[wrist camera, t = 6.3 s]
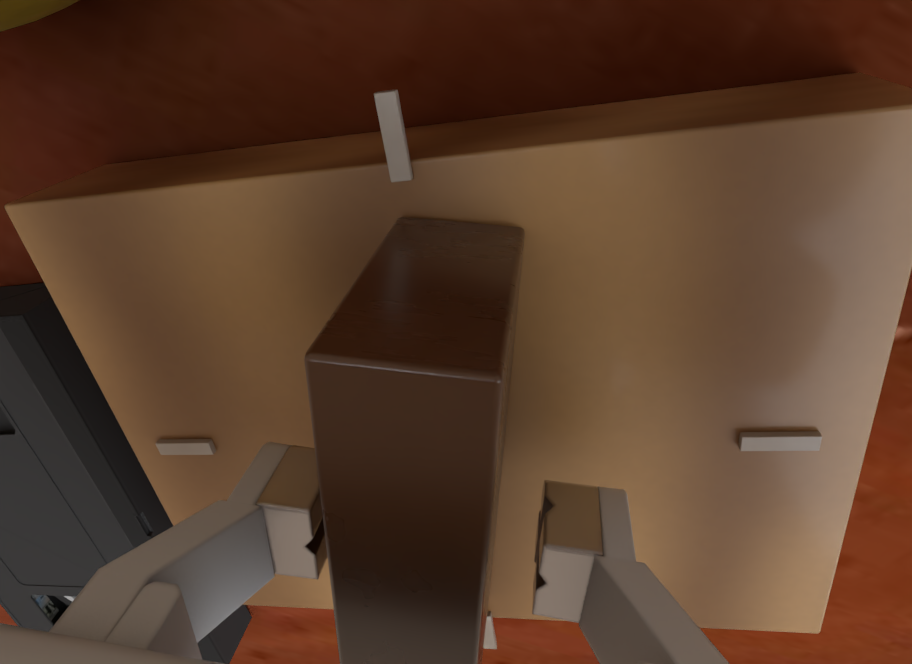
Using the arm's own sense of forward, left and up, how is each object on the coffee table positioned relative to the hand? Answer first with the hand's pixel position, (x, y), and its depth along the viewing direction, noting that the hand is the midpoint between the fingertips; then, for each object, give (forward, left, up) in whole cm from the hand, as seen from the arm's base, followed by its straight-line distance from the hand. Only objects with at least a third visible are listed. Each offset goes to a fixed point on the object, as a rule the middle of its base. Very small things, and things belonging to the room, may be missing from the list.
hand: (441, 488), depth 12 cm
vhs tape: (+14, +4, -4) cm, 15 cm away
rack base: (0, 0, -4) cm, 4 cm away
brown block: (0, 0, -1) cm, 1 cm away
